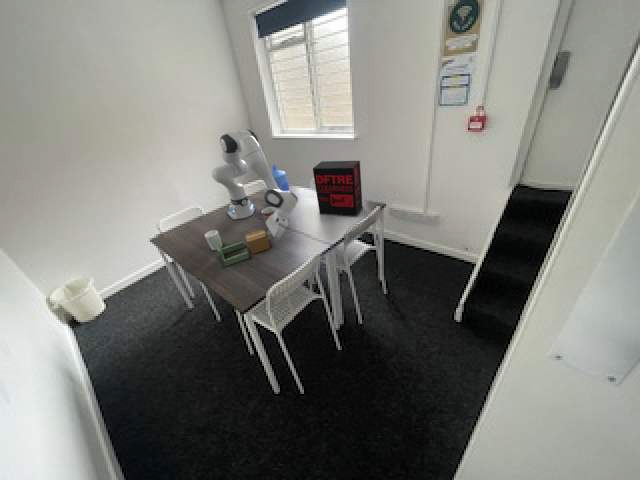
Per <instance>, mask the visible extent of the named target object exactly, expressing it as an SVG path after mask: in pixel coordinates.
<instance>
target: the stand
mask: <svg viewBox="0 0 640 480" xmlns="http://www.w3.org/2000/svg"><path fill="white" fill-rule="evenodd" d="M216 245H217V250H216V251H217V253H218V256H219V258H220V261H221V263H222V265H223V267H224V268H225V267H227V266H230V265H233V264H236V263H240V262H242V261H245V260H247V259H250V255H249V252H248V251H246V252H243V253H239V254H237V255H234V256H230V257H227V258H225V255H226V254H229V253H233V252H235V251H237V250H240V249H243V248H246V245H245V242H244V241H240V242H237V243H234V244H231V245H228V246H225V247H221V246H220V244H219V241H218V239H217V240H216Z"/></svg>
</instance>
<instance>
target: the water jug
mask: <svg viewBox="0 0 640 480" xmlns="http://www.w3.org/2000/svg"><path fill="white" fill-rule="evenodd" d="M271 167H272V171H271V173H272V175H273V177H274V179H275V181H276V183H277V185H278V187H279V188H280V189H281V190H282V191H291V189H290V185H289V180H288V176H287V172H286V171H284V170H280V169H278V168H277V164H271Z"/></svg>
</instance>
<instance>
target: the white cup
mask: <svg viewBox="0 0 640 480" xmlns="http://www.w3.org/2000/svg"><path fill="white" fill-rule="evenodd" d="M204 238H205V240H206V242H207V243H208V245H209V247H210V249H211V250H212V251H217V245H216V240H217V239H218V241H219V244H220V246H221V248H223V243H222V239H221V235H220V234H219V231H218V230H217V229H213V230H209V231H207V232H206V233H204Z"/></svg>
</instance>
